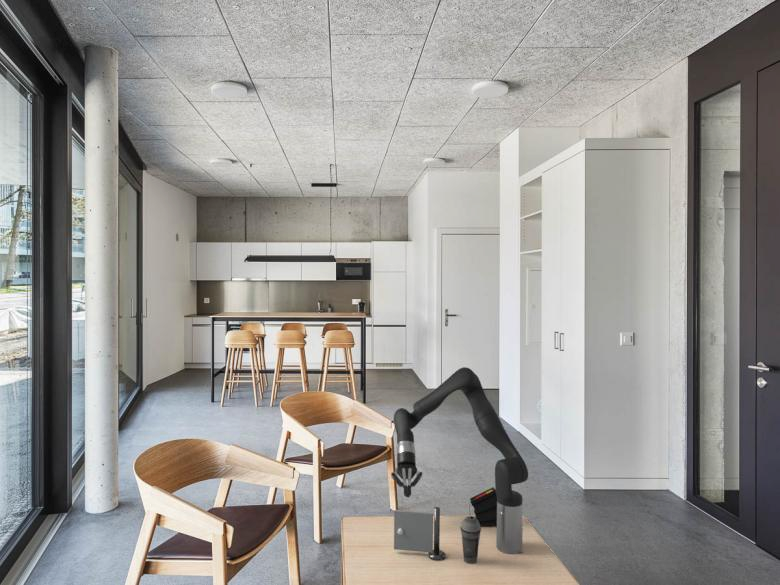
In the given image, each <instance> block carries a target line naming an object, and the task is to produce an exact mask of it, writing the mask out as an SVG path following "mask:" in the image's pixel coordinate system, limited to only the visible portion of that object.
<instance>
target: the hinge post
mask: <svg viewBox="0 0 780 585" xmlns="http://www.w3.org/2000/svg"><path fill="white" fill-rule="evenodd" d="M440 516H441V508H440V507H439V506H435V507H434V508H433V553H430V552H427V557H428V559H430V560H432V561H437V562H438V561H442V560H444V559H445V558H446V553H445V551H443V550H441V549H440V544H441V542H440V540H441V539H440V534H441V531H440V530H441V529H440V528H441V527H440V526H441V525H440V524H441V521H440V520H441V517H440Z"/></svg>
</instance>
